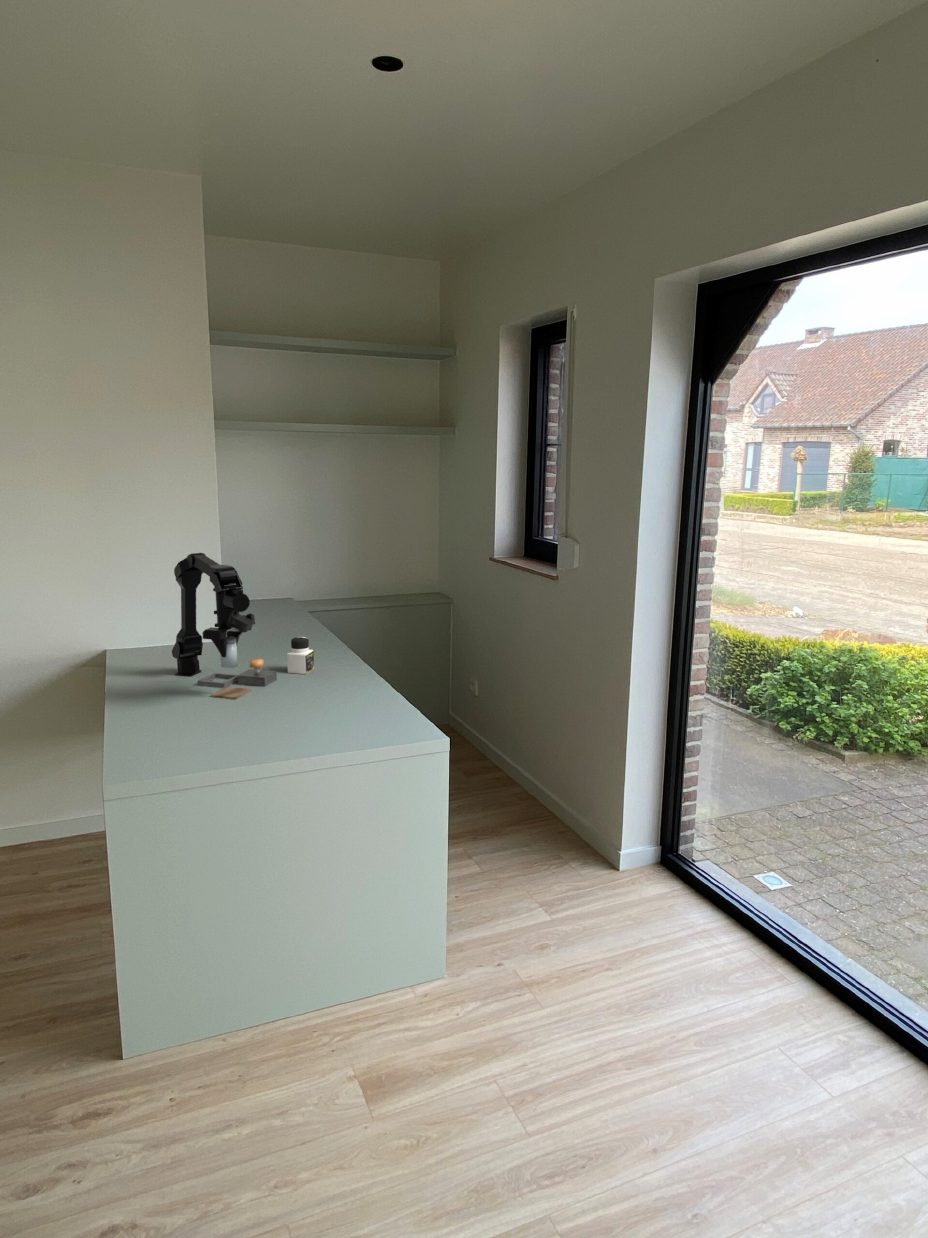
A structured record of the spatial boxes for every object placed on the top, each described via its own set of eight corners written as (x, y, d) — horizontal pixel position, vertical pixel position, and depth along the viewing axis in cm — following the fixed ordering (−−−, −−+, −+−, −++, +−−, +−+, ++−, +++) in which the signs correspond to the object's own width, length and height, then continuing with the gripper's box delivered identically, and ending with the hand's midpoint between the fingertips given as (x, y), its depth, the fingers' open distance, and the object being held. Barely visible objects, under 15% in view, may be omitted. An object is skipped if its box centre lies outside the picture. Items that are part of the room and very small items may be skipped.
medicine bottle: (306, 674, 278) (305, 641, 275) (287, 673, 279) (285, 639, 276) (314, 668, 284) (313, 636, 282) (295, 667, 286) (294, 635, 283)
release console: (238, 683, 266) (237, 675, 266) (250, 677, 274) (250, 668, 273) (264, 686, 264) (264, 677, 263) (276, 679, 271) (276, 671, 270)
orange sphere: (247, 674, 266) (247, 661, 266) (254, 670, 271) (253, 658, 270) (259, 675, 265) (259, 662, 264) (266, 671, 269) (265, 659, 269)
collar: (197, 685, 265) (197, 680, 264) (214, 676, 274) (214, 672, 274) (224, 687, 262) (224, 683, 262) (240, 679, 271) (240, 675, 271)
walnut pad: (210, 696, 253) (210, 694, 253) (226, 688, 261) (226, 686, 261) (236, 699, 250) (235, 697, 250) (250, 690, 259) (250, 689, 259)
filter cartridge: (218, 667, 252) (216, 639, 250) (226, 663, 257) (225, 635, 255) (232, 668, 251) (230, 640, 249) (240, 664, 256) (239, 636, 254)
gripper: (232, 614, 239) (235, 664, 242) (264, 602, 256) (266, 649, 260) (199, 612, 242) (203, 661, 245) (233, 600, 259) (235, 647, 263)
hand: (228, 655), depth 253 cm, fingers closed on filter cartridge, 5 cm apart
